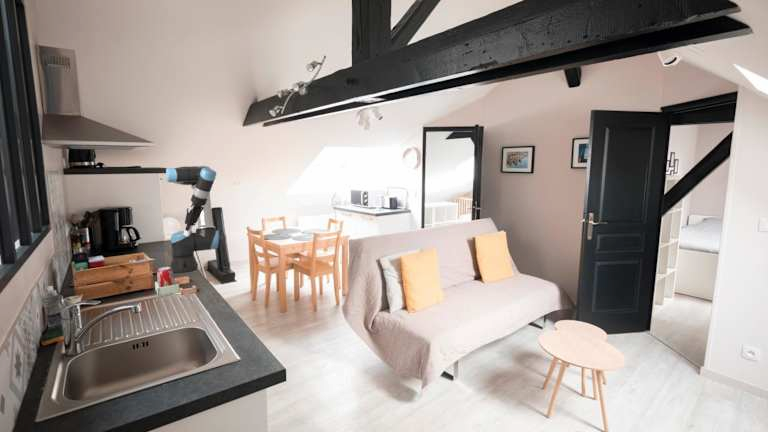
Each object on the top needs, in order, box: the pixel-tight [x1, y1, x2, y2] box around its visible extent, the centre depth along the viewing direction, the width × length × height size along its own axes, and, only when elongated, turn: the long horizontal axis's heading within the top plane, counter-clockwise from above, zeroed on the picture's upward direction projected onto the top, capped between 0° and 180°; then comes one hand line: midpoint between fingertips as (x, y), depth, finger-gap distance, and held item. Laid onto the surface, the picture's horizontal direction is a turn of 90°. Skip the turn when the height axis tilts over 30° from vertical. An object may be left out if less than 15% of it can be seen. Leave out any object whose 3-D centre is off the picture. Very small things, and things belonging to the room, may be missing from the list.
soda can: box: [156, 266, 174, 287], centre depth 197 cm, size 7×7×12 cm
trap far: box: [174, 275, 191, 286], centre depth 209 cm, size 7×4×2 cm, turn 127°
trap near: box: [179, 285, 198, 296], centre depth 195 cm, size 7×4×2 cm, turn 127°
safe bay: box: [154, 278, 180, 297], centre depth 197 cm, size 10×12×4 cm
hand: (186, 235), depth 208 cm, fingers closed
